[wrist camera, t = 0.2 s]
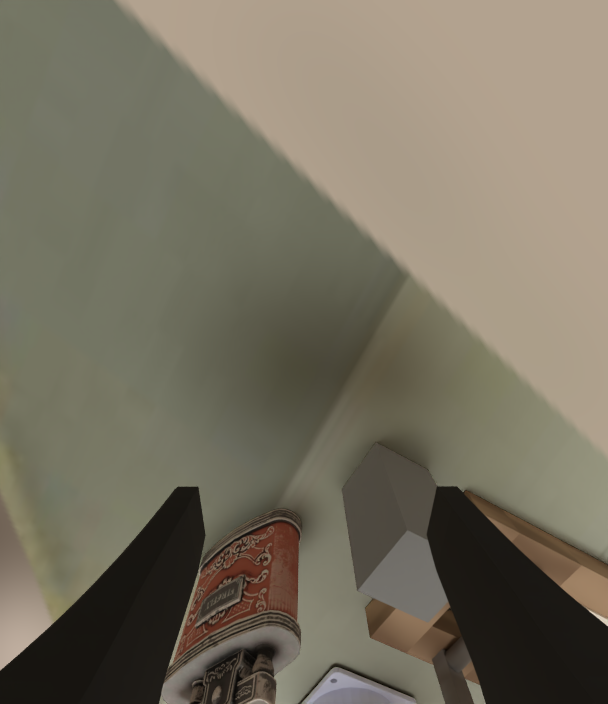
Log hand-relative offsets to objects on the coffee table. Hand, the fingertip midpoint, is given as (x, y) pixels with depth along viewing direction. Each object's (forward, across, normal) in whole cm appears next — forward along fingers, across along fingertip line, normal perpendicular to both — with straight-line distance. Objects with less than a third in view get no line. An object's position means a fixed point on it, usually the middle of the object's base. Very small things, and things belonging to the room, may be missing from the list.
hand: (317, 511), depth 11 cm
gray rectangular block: (+9, -5, +8) cm, 13 cm away
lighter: (+9, +4, +13) cm, 16 cm away
